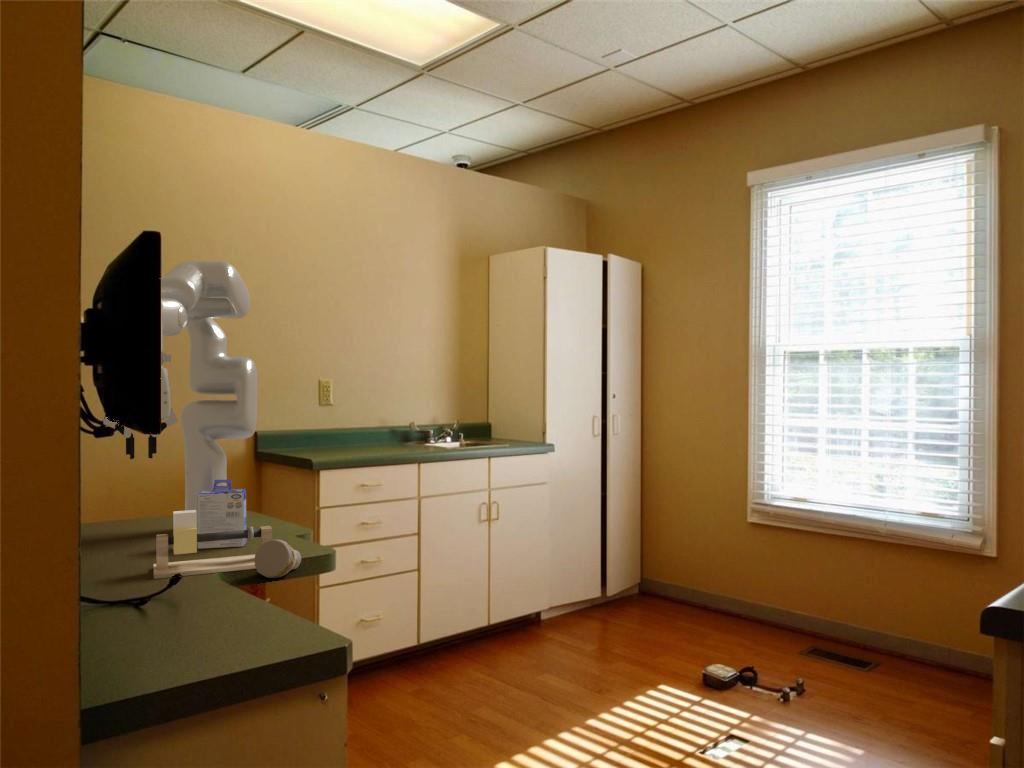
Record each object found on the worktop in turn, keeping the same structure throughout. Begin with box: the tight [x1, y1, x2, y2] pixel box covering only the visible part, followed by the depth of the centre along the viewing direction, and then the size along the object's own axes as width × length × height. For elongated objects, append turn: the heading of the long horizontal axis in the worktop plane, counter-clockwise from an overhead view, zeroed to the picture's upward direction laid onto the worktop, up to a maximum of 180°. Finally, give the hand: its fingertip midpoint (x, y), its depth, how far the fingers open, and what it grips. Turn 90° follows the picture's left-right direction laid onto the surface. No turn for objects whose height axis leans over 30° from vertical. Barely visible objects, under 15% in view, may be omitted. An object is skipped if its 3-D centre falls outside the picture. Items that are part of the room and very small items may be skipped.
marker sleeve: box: [172, 510, 198, 556], centre depth 148 cm, size 5×4×8 cm
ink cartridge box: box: [197, 479, 247, 550], centre depth 170 cm, size 10×6×14 cm, turn 105°
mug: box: [254, 538, 302, 579], centre depth 145 cm, size 8×10×10 cm
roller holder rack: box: [152, 525, 273, 580], centre depth 150 cm, size 9×22×7 cm, turn 115°
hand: (141, 457), depth 145 cm, fingers open, 2 cm apart
